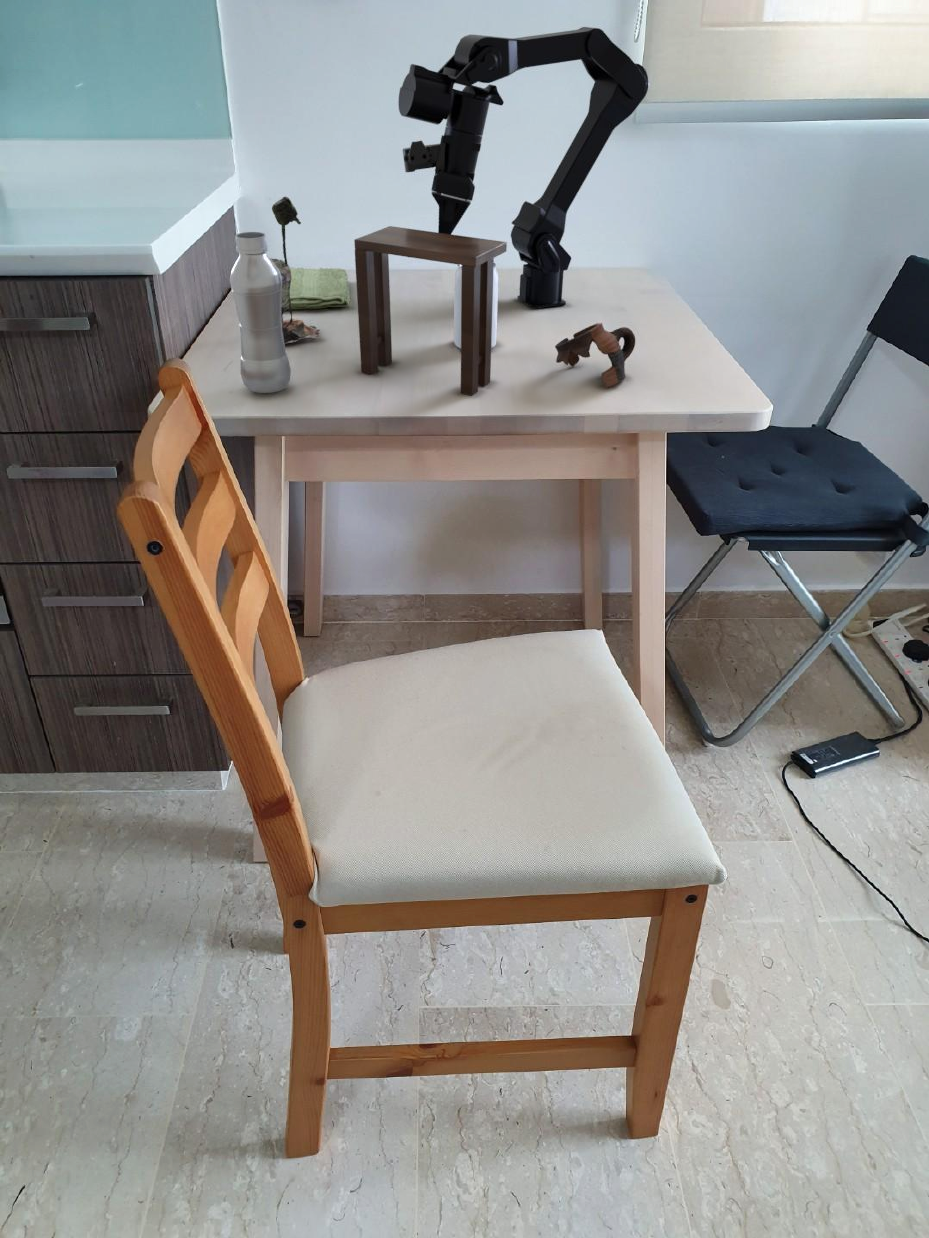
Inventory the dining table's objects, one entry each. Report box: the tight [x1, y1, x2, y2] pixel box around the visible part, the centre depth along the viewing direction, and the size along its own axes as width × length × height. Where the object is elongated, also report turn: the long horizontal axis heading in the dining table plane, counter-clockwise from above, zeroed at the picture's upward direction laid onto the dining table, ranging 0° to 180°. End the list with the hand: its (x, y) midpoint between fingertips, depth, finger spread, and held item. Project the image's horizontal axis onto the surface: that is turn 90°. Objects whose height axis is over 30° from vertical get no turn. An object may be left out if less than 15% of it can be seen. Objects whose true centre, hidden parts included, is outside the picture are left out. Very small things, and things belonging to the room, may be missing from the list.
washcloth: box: [287, 266, 351, 311], centre depth 161 cm, size 13×18×3 cm
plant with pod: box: [269, 196, 320, 344], centre depth 137 cm, size 8×11×20 cm
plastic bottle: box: [229, 231, 292, 394], centre depth 120 cm, size 6×7×20 cm
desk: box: [354, 225, 508, 397], centre depth 127 cm, size 9×18×18 cm, turn 62°
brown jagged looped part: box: [554, 322, 636, 389], centre depth 131 cm, size 12×10×8 cm
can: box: [453, 262, 499, 350], centre depth 138 cm, size 6×6×12 cm
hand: (441, 239), depth 147 cm, fingers open, 9 cm apart
